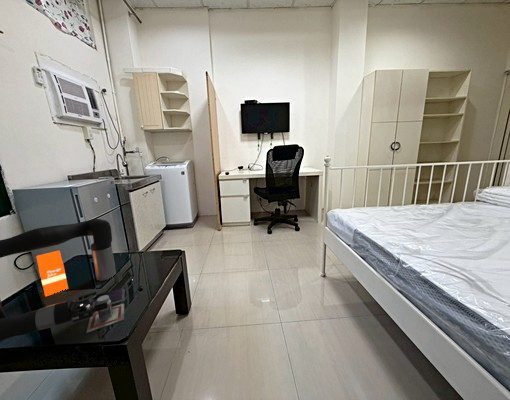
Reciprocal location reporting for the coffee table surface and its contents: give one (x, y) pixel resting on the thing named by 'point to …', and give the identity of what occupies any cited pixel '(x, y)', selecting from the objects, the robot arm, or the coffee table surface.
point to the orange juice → (52, 272)
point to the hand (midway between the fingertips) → (108, 299)
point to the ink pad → (115, 296)
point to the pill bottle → (108, 311)
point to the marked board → (97, 323)
